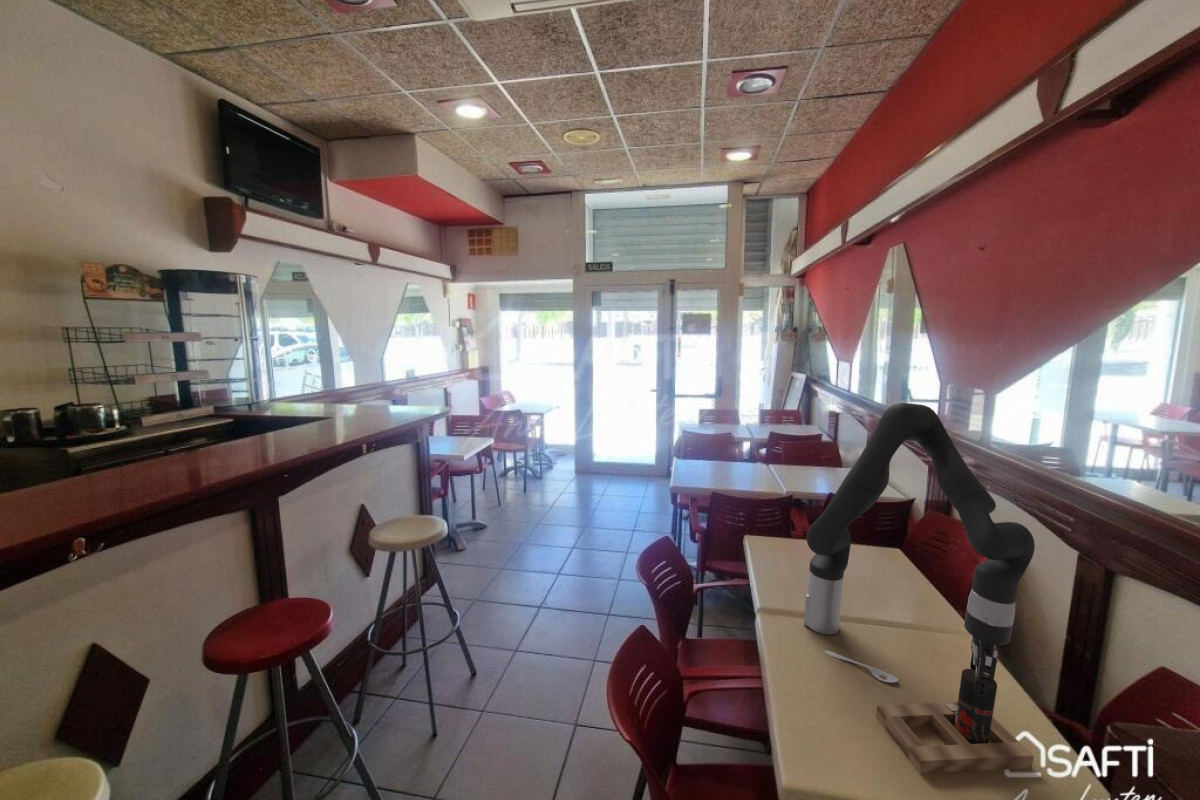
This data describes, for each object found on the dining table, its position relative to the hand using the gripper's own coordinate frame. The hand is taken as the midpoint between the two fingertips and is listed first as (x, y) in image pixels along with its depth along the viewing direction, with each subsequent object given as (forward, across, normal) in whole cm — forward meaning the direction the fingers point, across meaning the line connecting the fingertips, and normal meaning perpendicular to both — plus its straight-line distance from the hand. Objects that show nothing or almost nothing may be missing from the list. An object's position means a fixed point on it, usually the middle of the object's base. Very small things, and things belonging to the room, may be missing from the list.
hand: (978, 682), depth 100 cm
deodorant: (+14, 0, 0) cm, 14 cm away
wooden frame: (+14, +3, -4) cm, 15 cm away
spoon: (+15, -12, -24) cm, 31 cm away
